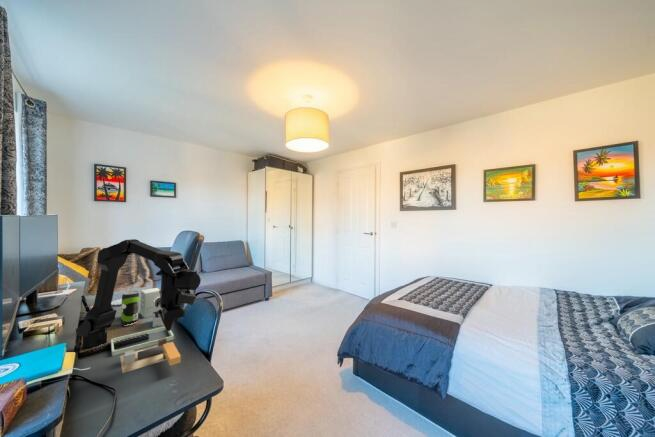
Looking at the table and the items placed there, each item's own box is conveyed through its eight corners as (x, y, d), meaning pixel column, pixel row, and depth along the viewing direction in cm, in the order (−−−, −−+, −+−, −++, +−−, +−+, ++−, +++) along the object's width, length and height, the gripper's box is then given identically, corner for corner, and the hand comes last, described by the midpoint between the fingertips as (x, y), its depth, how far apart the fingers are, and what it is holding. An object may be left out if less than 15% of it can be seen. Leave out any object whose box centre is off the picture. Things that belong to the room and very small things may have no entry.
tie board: (122, 376, 78) (122, 365, 78) (119, 358, 87) (120, 348, 87) (179, 358, 89) (179, 348, 89) (171, 344, 98) (172, 335, 98)
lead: (124, 365, 82) (125, 356, 82) (124, 360, 84) (124, 352, 84) (172, 351, 92) (172, 343, 92) (170, 347, 94) (170, 339, 94)
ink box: (155, 320, 120) (156, 296, 120) (167, 318, 122) (168, 295, 122) (151, 327, 112) (152, 302, 112) (164, 326, 114) (165, 300, 114)
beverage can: (136, 320, 119) (137, 289, 119) (138, 324, 115) (140, 292, 115) (119, 323, 114) (121, 292, 114) (121, 328, 110) (123, 295, 110)
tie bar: (169, 365, 78) (170, 359, 78) (162, 350, 87) (163, 344, 87) (180, 362, 80) (180, 356, 80) (172, 347, 89) (172, 341, 89)
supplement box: (156, 310, 132) (157, 287, 132) (160, 314, 127) (161, 290, 127) (139, 314, 126) (140, 290, 126) (143, 318, 121) (144, 293, 121)
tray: (111, 358, 87) (112, 351, 87) (110, 345, 96) (110, 338, 96) (174, 341, 100) (174, 335, 100) (167, 331, 109) (168, 325, 109)
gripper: (201, 289, 87) (200, 333, 87) (188, 279, 101) (186, 317, 101) (165, 295, 80) (163, 343, 79) (155, 283, 93) (153, 324, 93)
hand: (168, 330), depth 88 cm, fingers closed
